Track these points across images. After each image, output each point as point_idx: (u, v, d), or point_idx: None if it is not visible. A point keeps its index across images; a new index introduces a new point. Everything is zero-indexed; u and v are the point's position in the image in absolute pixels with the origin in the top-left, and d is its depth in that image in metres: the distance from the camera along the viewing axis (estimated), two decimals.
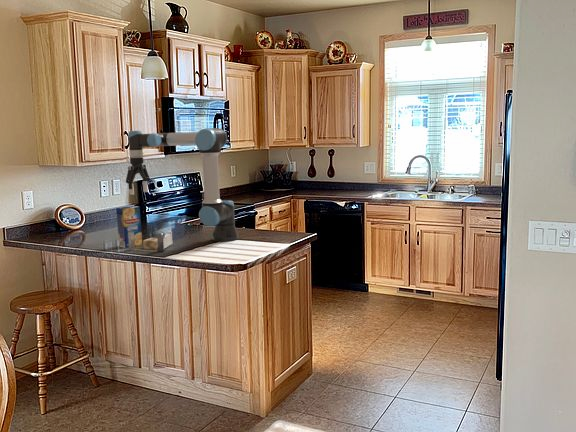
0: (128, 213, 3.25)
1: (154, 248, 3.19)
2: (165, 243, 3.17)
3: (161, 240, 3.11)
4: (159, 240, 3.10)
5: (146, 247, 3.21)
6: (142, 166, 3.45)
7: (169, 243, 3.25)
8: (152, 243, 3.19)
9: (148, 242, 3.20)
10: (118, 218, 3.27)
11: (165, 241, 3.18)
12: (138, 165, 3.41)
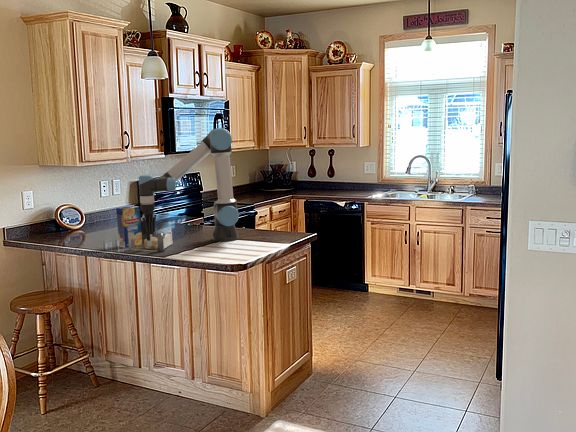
0: (128, 213, 3.25)
1: (155, 248, 3.20)
2: (165, 243, 3.17)
3: (161, 240, 3.11)
4: (159, 240, 3.10)
5: (147, 246, 3.22)
6: (153, 213, 3.21)
7: (169, 243, 3.25)
8: None
9: None
10: (118, 218, 3.27)
11: (165, 241, 3.18)
12: (149, 212, 3.17)
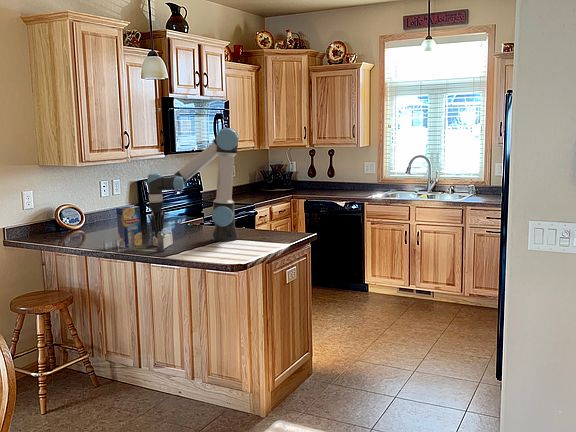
0: (128, 213, 3.25)
1: None
2: (165, 243, 3.17)
3: (161, 240, 3.11)
4: (159, 240, 3.10)
5: (155, 243, 3.29)
6: (161, 211, 3.28)
7: (169, 243, 3.25)
8: None
9: None
10: (118, 218, 3.27)
11: (165, 241, 3.18)
12: (158, 210, 3.24)
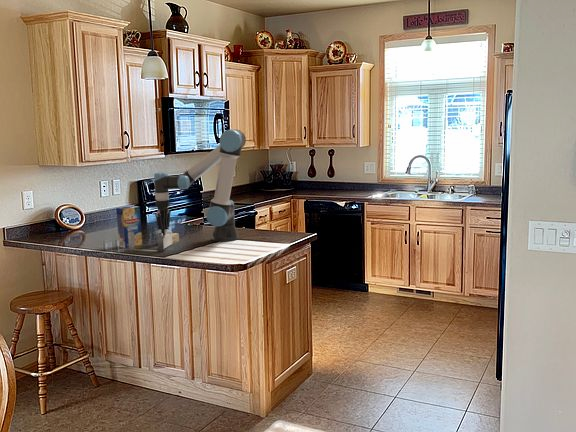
0: (128, 213, 3.25)
1: None
2: (165, 243, 3.17)
3: (161, 240, 3.11)
4: (159, 240, 3.10)
5: None
6: None
7: (169, 243, 3.25)
8: None
9: None
10: (118, 218, 3.27)
11: (165, 241, 3.18)
12: (164, 208, 3.30)
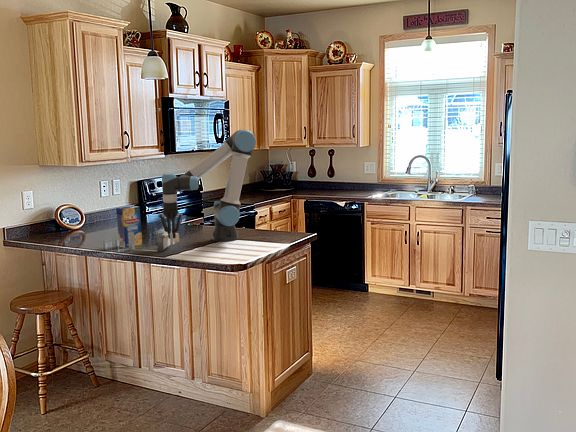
0: (128, 213, 3.25)
1: None
2: (165, 243, 3.17)
3: (161, 240, 3.11)
4: (159, 240, 3.10)
5: None
6: (176, 213, 3.18)
7: (169, 243, 3.25)
8: None
9: None
10: (118, 218, 3.27)
11: (165, 241, 3.18)
12: (169, 210, 3.18)
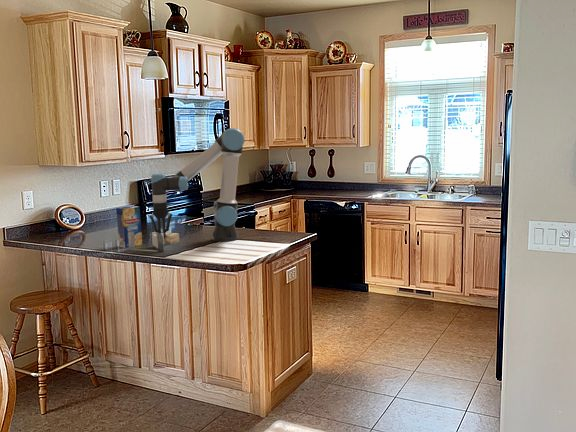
0: (128, 213, 3.25)
1: (170, 243, 3.33)
2: None
3: (161, 240, 3.11)
4: (159, 240, 3.10)
5: None
6: (167, 212, 3.21)
7: None
8: (167, 238, 3.33)
9: None
10: (118, 218, 3.27)
11: None
12: (160, 211, 3.20)
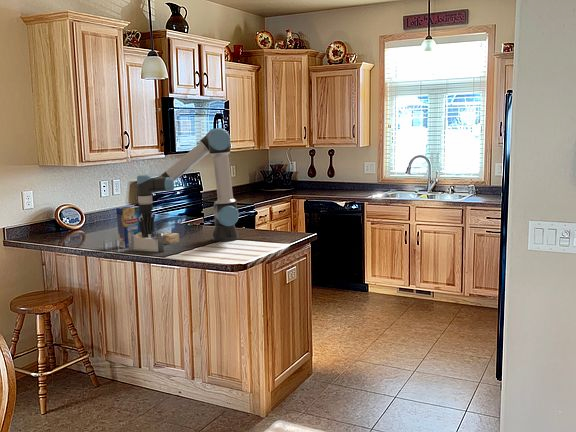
0: (128, 213, 3.25)
1: (169, 243, 3.33)
2: None
3: (161, 240, 3.11)
4: (159, 240, 3.10)
5: None
6: (151, 213, 3.20)
7: None
8: (167, 238, 3.33)
9: (164, 237, 3.34)
10: (118, 218, 3.27)
11: None
12: (147, 212, 3.17)
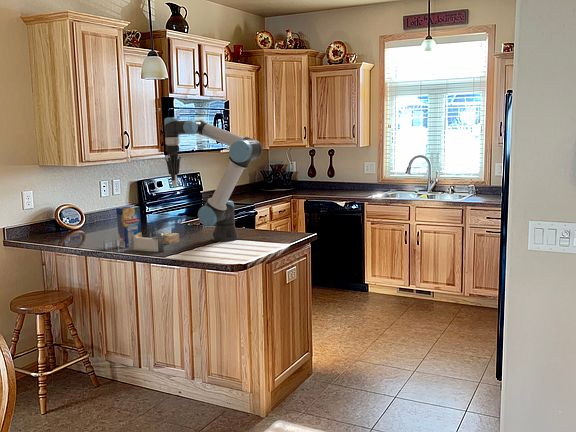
0: (128, 213, 3.25)
1: (169, 243, 3.33)
2: None
3: (161, 240, 3.11)
4: (159, 240, 3.10)
5: None
6: None
7: None
8: (167, 238, 3.33)
9: (163, 237, 3.35)
10: (118, 218, 3.27)
11: None
12: (174, 153, 3.33)
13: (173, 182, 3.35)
